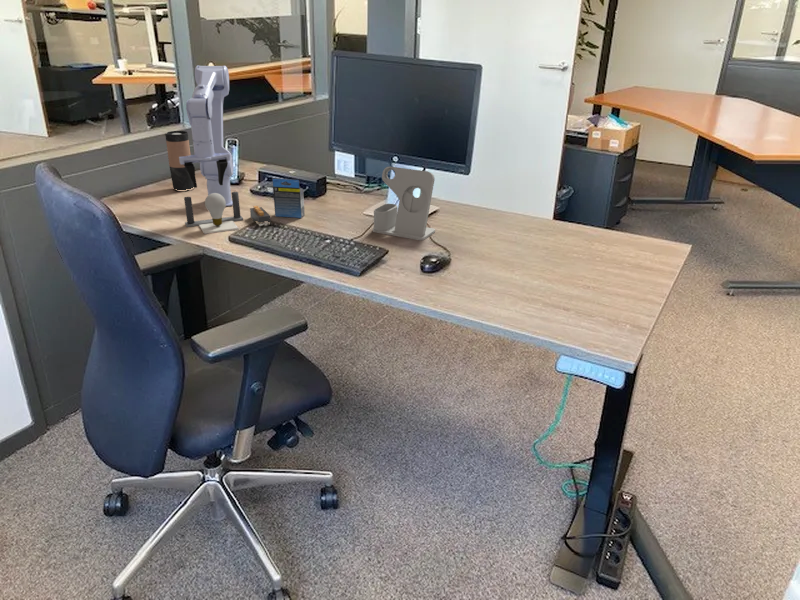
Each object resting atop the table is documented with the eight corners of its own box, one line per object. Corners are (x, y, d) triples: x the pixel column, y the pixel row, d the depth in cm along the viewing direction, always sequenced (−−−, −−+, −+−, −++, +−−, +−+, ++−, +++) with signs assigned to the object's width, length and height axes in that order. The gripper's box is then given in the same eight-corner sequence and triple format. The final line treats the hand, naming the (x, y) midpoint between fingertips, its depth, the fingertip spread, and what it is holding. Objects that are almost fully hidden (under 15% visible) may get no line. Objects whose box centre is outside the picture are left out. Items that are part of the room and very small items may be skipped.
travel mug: (199, 189, 226) (192, 132, 217) (179, 193, 221) (171, 135, 212) (188, 185, 231) (181, 130, 222) (168, 189, 225) (160, 132, 217)
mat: (199, 226, 188) (199, 224, 188) (232, 222, 192) (232, 220, 192) (204, 233, 182) (204, 232, 182) (238, 229, 186) (238, 227, 186)
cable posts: (185, 224, 189) (181, 196, 186) (241, 217, 196) (238, 190, 193) (186, 227, 187) (183, 199, 183) (243, 220, 194) (240, 193, 190)
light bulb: (216, 230, 183) (212, 197, 179) (203, 226, 186) (199, 193, 182) (232, 225, 187) (228, 193, 183) (219, 221, 191) (216, 189, 186)
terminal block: (250, 217, 196) (249, 205, 195) (262, 216, 198) (261, 204, 196) (259, 226, 188) (258, 214, 187) (271, 225, 190) (270, 212, 188)
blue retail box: (305, 215, 200) (303, 177, 195) (301, 218, 196) (299, 180, 191) (278, 213, 201) (276, 175, 196) (274, 216, 198) (271, 178, 193)
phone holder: (369, 231, 186) (369, 171, 179) (385, 222, 195) (386, 164, 187) (422, 241, 179) (424, 179, 172) (436, 231, 188) (439, 171, 180)
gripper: (179, 144, 179) (185, 191, 184) (230, 141, 185) (235, 186, 190) (175, 140, 184) (181, 185, 190) (225, 137, 190) (229, 181, 196)
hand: (208, 185), depth 191 cm, fingers open, 7 cm apart
